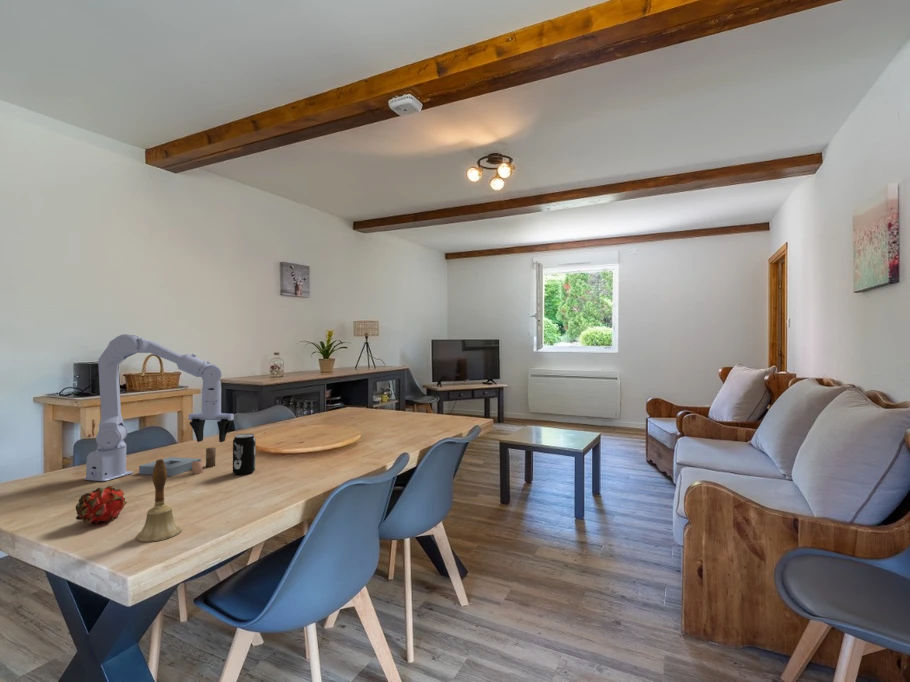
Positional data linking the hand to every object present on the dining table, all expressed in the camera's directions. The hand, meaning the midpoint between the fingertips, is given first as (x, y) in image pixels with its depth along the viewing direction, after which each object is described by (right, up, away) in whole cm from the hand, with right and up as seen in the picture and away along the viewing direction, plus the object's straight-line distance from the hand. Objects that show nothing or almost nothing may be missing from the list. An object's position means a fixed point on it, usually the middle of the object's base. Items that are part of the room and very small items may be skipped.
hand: (211, 441), depth 152 cm
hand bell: (+18, -8, -55) cm, 58 cm away
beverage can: (+15, -9, -8) cm, 19 cm away
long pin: (0, -8, 0) cm, 8 cm away
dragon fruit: (0, -8, -47) cm, 48 cm away
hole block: (-10, -8, -5) cm, 14 cm away
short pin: (0, -8, -8) cm, 12 cm away
